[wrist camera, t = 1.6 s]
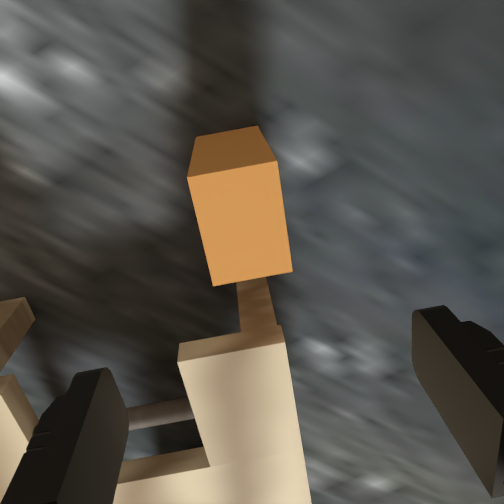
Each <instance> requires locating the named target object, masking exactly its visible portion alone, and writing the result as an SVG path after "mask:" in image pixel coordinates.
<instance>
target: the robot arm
mask: <svg viewBox="0 0 504 504" xmlns="http://www.w3.org/2000/svg"><path fill="white" fill-rule="evenodd" d="M412 362H413V367H414V370H415V373H416V375H417V378H418V380H419V381H420V383H421V385H422V386H423V388H424V389H425V391H426V393H427V394H428V396H429V398H430V399H431V401H432V402H433V404H434V406H435V407H436V409H437V410H438V412H439V414H440V415H441V417H442V419H443V420H444V422H445V423H446V425H447V427H448V428H449V430H450V431H451V433H452V435H453V436H454V438H455V439H456V441H457V443H458V444H459V446H460V448H461V449H462V451H463V452H464V454H465V456H466V457H467V459H468V460H469V462H470V464H471V465H472V467H473V469H474V470H475V472H476V473H477V475H478V477H479V478H480V480H481V481H482V483H483V485H484V486H485V488H486V490H487V491H488V493H489V494H490V496H491V498H496V497H501V496H504V345H503V344H502V343H501V342H500V341H499V340H498V339H497V338H496V337H495V336H494V335H493V334H492V333H491V332H490V331H488V330H487V329H485V328H483V327H481V326H479V325H477V324H476V323H474V322H472V321H465V322H460V321H459V320H458V318H457V317H456V316H455V315H454V314H453V313H452V312H451V311H450V310H449V309H448V308H447V307H446V306H444V305H441V306H435V307H430V308H425V309H419V310H415V311H414V312H413V314H412ZM128 432H129V419H128V413H127V409H126V407H125V404H124V402H123V399H122V397H121V395H120V392H119V390H118V387H117V385H116V382H115V380H114V378H113V375H112V373H111V371H110V370H109V369H108V368H106V367H105V368H100V369H94V370H89V371H84V372H79V373H76V374H75V376H74V378H73V380H72V382H71V385H70V387H69V389H68V392H67V394H66V395H65V396H60V397H57V398H56V399H55V401H54V402H53V403H52V404H51V405H50V406H49V407H48V408H47V410H46V411H45V412H44V413H43V414H42V416H41V418H40V420H39V422H38V424H37V426H36V429H35V431H34V433H33V434H34V436H33V437H31V439H30V441H29V444H28V446H27V448H26V453H24V454H23V456H22V458H21V461H20V463H19V465H18V467H17V469H16V471H15V473H14V476H13V478H12V480H11V482H10V484H9V486H8V488H7V490H6V493H5V495H4V497H3V499H2V501H1V503H0V504H113V501H114V496H115V491H116V487H117V482H118V478H119V473H120V469H121V464H122V460H123V455H124V451H125V446H126V442H127V437H128Z"/></svg>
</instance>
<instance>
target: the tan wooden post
mask: <svg viewBox="0 0 504 504" xmlns="http://www.w3.org/2000/svg"><path fill="white" fill-rule="evenodd" d="M187 180H188V184H189V188H190V192H191V196H192V200H193V205H194V209H195V213H196V217H197V221H198V225H199V229H200V234H201V238H202V242H203V246H204V250H205V254H206V258H207V263H208V267H209V271H210V275H211V279H212V283H213V286H218V285H223V284H228V283H234V282H239V281H245V280H250V279H256V278H261V277H266V276H272V275H277V274H283V273H288V272H293V270H292V263H291V255H290V248H289V241H288V234H287V227H286V220H285V213H284V206H283V198H282V191H281V184H280V177H279V170H278V163H277V160H276V158H275V156H274V154H273V152H272V151H271V149H270V147H269V145H268V143H267V142H266V140H265V138H264V136H263V135H262V133H261V131H260V129H259V127H258V126H252V127H246V128H241V129H236V130H230V131H225V132H220V133H214V134H209V135H203V136H198V137H196V139H195V143H194V148H193V152H192V157H191V161H190V166H189V170H188V175H187Z"/></svg>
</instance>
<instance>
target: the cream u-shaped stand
mask: <svg viewBox="0 0 504 504" xmlns="http://www.w3.org/2000/svg"><path fill="white" fill-rule="evenodd" d="M236 286H237V297H238V308H239V319H240V330H241V332H239V333H233V334H228V335H222V336H217V337H211V338H206V339H201V340H195V341H190V342H184V343H179V352H178V360H177V363H178V366H179V370H180V373H181V376H182V379H183V382H184V385H185V388H186V392H187V395H188V397H184V398H179V399H173V400H168V401H163V402H157V403H152V404H146V405H141V406H135V407H130V408H126V409H127V413H128V419H129V431H130V430H135V429H141V428H146V427H151V426H157V425H162V424H168V423H173V422H179V421H184V420H189V419H195V420H196V423H197V426H198V430H199V433H200V436H201V439H202V442H203V445H204V447H199V448H194V449H188V450H183V451H177V452H172V453H167V454H161V455H156V456H150V457H145V458H139V459H134V460H129V461H123V462H122V464H121V469H120V473H119V478H118V482H117V487H116V491H115V496H114V501H113V504H312V503H311V497H310V491H309V485H308V479H307V473H306V467H305V461H304V455H303V448H302V442H301V436H300V430H299V424H298V418H297V412H296V406H295V400H294V393H293V387H292V381H291V375H290V369H289V363H288V357H287V351H286V345H285V340H284V336H283V331H282V327H281V325H277V323H276V319H275V314H274V310H273V305H272V301H271V296H270V292H269V287H268V283H267V279H266V277H261V278H256V279H250V280H245V281H239V282H236ZM34 321H35V317H34V314H33V312H32V310H31V308H30V306H29V304H28V302H27V300H26V298H25V297H21V298H16V299H10V300H5V301H0V372H1V370H2V369H3V367H4V366H5V364H6V363H7V361H8V360H9V358H10V357H11V355H12V354H13V352H14V351H15V349H16V348H17V346H18V345H19V343H20V342H21V340H22V339H23V337H24V336H25V334H26V333H27V331H28V330H29V328H30V327H31V325H32V324H33V322H34ZM38 422H39V419H38V418H37V416H36V414H35V412H34V410H33V408H32V407H31V405H30V403H29V401H28V399H27V398H26V396H25V394H24V392H23V390H22V388H21V387H20V385H19V383H18V381H17V379H16V377H15V376H14V374H11V375H6V376H1V377H0V503H1V501H2V499H3V497H4V495H5V493H6V490H7V488H8V486H9V484H10V482H11V480H12V478H13V476H14V473H15V471H16V469H17V467H18V465H19V463H20V461H21V458H22V456H23V454H24V453H26V448H27V446H28V444H29V441H30V439H31V437H33V436H34V434H33V433H34V431H35V429H36V426H37V424H38Z"/></svg>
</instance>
